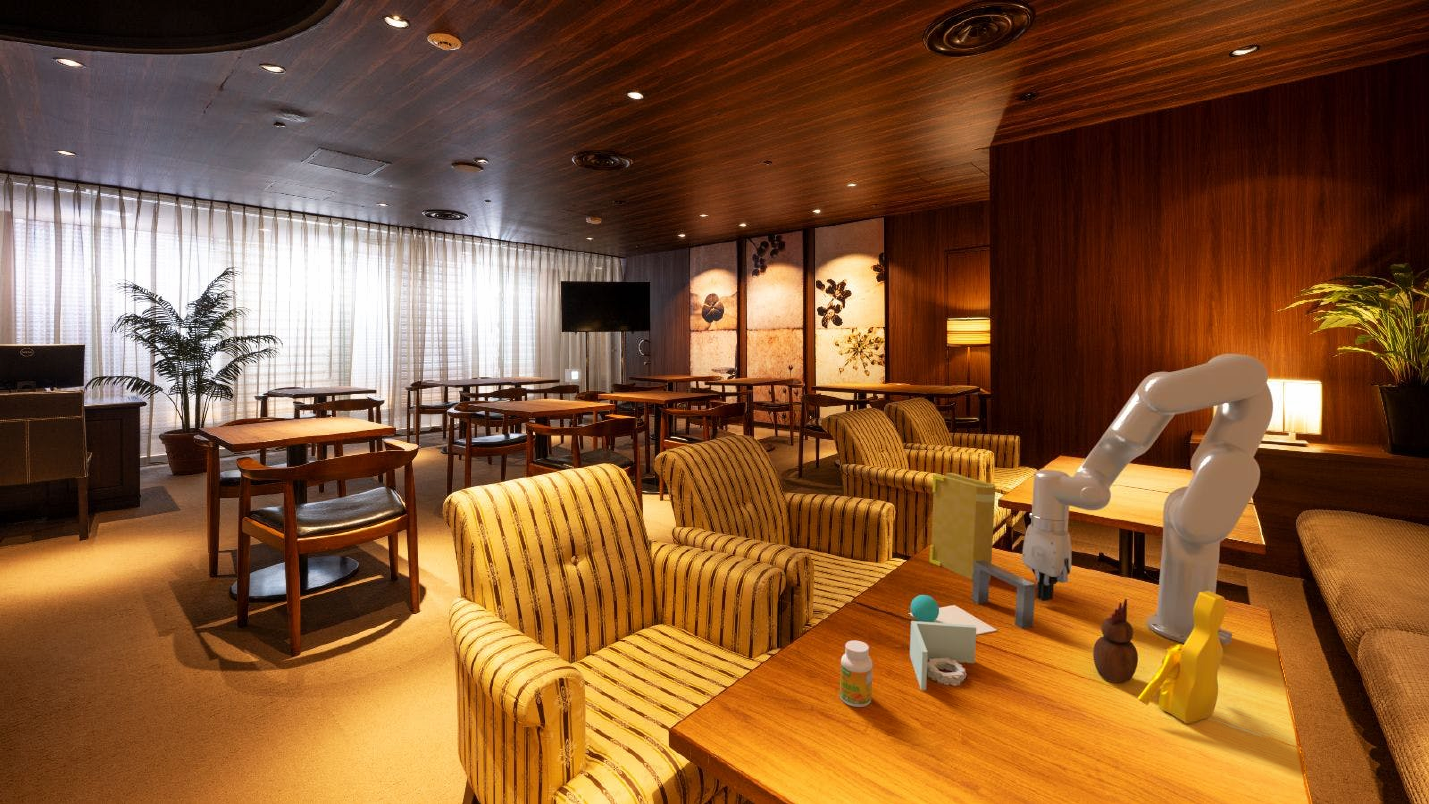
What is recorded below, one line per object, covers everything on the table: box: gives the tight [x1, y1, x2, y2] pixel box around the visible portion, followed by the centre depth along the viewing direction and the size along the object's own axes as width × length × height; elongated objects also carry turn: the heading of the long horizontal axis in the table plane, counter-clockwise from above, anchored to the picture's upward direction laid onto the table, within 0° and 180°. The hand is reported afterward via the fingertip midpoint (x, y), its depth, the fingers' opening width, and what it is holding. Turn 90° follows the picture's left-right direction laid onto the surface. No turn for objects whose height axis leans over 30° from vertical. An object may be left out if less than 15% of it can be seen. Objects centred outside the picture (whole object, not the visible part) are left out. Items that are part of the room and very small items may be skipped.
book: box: [928, 472, 996, 582], centre depth 164 cm, size 17×7×25 cm, turn 25°
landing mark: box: [908, 604, 998, 636], centre depth 135 cm, size 13×13×1 cm
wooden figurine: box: [1092, 598, 1139, 684], centre depth 112 cm, size 7×6×15 cm
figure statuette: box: [1137, 591, 1226, 724], centre depth 101 cm, size 18×8×22 cm, turn 110°
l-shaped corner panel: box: [909, 620, 977, 691], centre depth 113 cm, size 12×12×8 cm
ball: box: [910, 594, 940, 622], centre depth 134 cm, size 6×6×6 cm
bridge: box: [971, 560, 1036, 630], centre depth 139 cm, size 3×15×10 cm, turn 19°
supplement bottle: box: [839, 640, 874, 708], centre depth 105 cm, size 5×5×10 cm
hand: (1044, 598), depth 143 cm, fingers closed
